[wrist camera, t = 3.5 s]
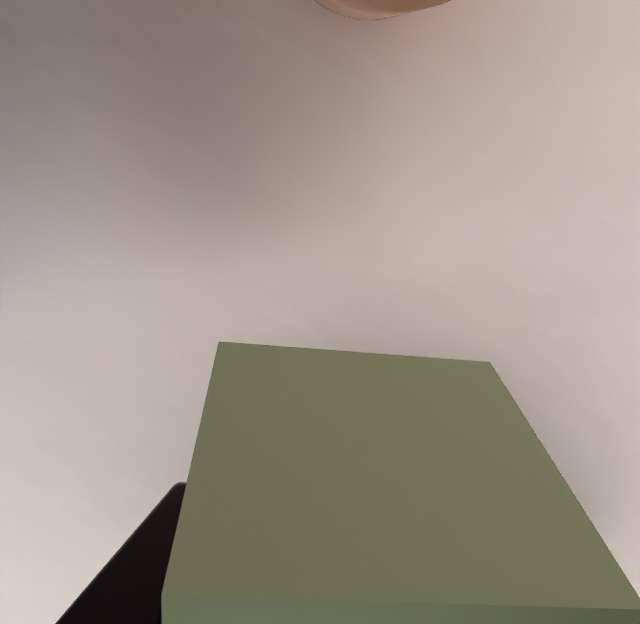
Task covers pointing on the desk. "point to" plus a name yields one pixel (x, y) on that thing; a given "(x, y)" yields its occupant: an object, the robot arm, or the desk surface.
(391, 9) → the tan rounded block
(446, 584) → the green block
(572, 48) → the desk surface
